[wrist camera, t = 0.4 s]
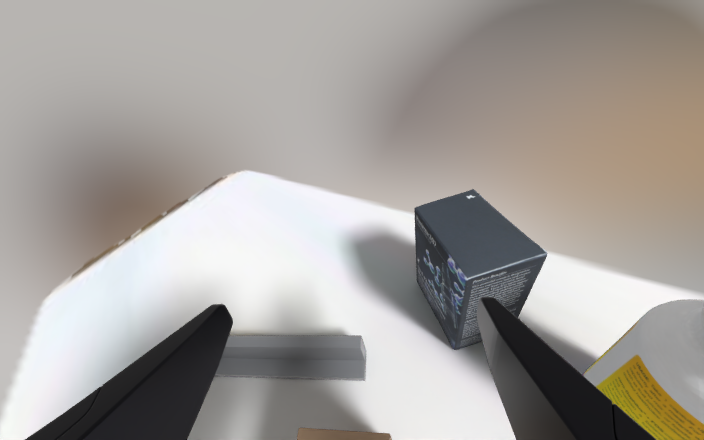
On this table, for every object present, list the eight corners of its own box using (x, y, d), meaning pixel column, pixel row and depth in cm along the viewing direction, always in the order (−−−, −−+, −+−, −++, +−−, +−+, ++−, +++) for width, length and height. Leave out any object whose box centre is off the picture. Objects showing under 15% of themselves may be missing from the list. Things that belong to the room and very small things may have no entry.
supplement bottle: (720, 537, 13) (1184, 556, 5) (562, 437, 17) (688, 356, 9) (708, 412, 17) (977, 305, 9) (579, 351, 21) (682, 237, 12)
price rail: (366, 348, 24) (361, 333, 22) (365, 380, 22) (359, 366, 20) (211, 347, 27) (195, 333, 25) (198, 375, 25) (179, 362, 23)
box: (415, 282, 28) (412, 205, 21) (463, 266, 29) (476, 187, 22) (453, 353, 22) (466, 278, 15) (514, 333, 23) (552, 251, 16)
